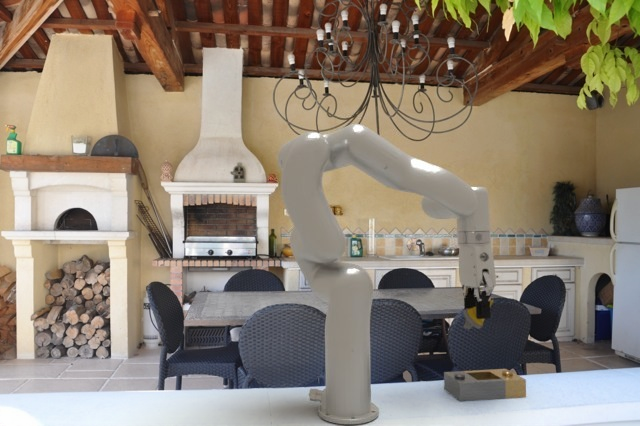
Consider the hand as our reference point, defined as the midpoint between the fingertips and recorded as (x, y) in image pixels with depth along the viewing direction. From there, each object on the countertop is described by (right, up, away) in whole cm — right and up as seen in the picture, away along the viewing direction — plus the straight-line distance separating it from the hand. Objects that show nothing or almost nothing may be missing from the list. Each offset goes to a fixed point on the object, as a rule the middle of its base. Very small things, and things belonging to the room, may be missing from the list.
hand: (477, 315), depth 119 cm
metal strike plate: (+2, -18, 0) cm, 18 cm away
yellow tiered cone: (0, -3, 0) cm, 3 cm away
